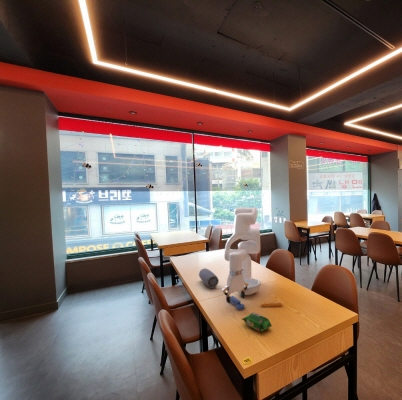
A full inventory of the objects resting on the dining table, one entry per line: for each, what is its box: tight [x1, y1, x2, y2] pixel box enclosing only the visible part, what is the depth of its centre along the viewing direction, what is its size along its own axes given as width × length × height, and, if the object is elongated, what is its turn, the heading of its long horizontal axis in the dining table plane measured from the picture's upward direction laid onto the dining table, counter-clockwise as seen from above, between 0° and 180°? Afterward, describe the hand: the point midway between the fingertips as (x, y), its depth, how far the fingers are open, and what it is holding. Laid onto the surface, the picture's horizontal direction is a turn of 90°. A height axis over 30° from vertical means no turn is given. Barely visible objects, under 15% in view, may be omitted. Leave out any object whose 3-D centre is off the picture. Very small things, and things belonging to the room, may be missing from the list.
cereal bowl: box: [237, 278, 261, 296], centre depth 157 cm, size 17×17×7 cm
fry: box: [261, 301, 282, 308], centre depth 138 cm, size 12×2×2 cm, turn 93°
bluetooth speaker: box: [198, 267, 219, 288], centre depth 173 cm, size 23×9×10 cm, turn 35°
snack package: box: [241, 312, 272, 333], centre depth 115 cm, size 7×16×5 cm, turn 52°
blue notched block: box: [230, 295, 245, 311], centre depth 139 cm, size 14×4×3 cm, turn 38°
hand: (235, 300), depth 139 cm, fingers open, 9 cm apart
